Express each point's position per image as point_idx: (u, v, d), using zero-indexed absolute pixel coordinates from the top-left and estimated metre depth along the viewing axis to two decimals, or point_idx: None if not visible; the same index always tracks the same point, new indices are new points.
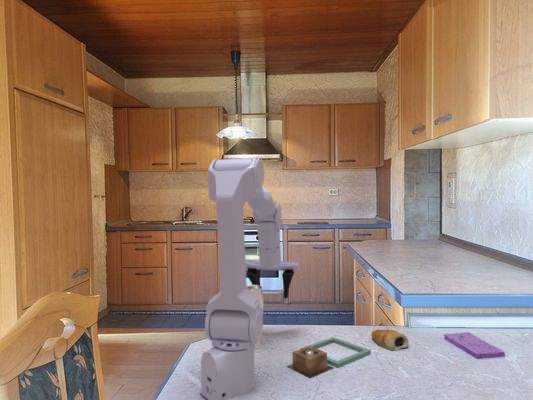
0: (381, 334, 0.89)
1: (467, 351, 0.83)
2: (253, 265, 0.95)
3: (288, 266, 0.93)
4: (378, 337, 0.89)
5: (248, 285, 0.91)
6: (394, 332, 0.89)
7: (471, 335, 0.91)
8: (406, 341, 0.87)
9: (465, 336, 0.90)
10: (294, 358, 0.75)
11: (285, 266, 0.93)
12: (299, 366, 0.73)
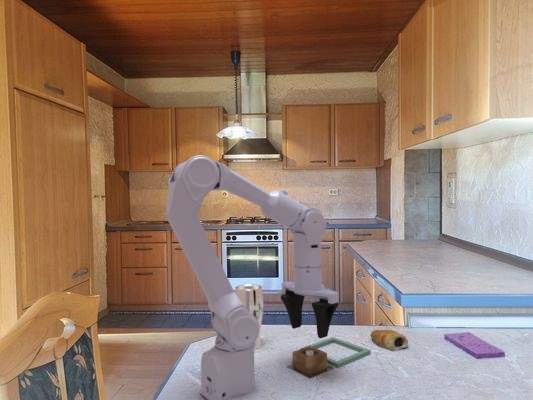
0: (380, 334, 0.88)
1: (467, 351, 0.83)
2: (288, 286, 0.77)
3: (321, 294, 0.70)
4: (377, 337, 0.89)
5: (248, 285, 0.91)
6: (393, 332, 0.88)
7: (471, 335, 0.91)
8: (405, 341, 0.87)
9: (465, 336, 0.90)
10: (294, 358, 0.75)
11: (318, 293, 0.71)
12: (299, 366, 0.73)
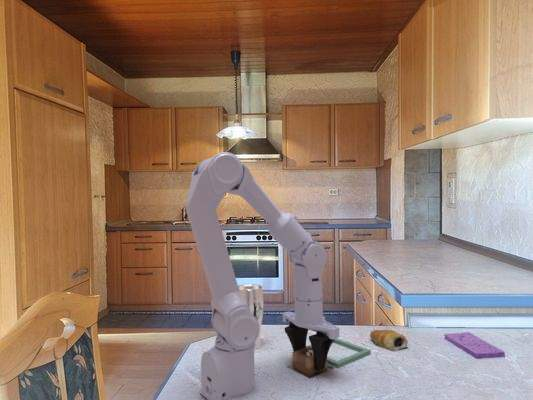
0: (380, 334, 0.88)
1: (467, 351, 0.83)
2: (289, 318, 0.77)
3: (322, 329, 0.70)
4: (377, 337, 0.88)
5: (248, 285, 0.91)
6: (393, 332, 0.88)
7: (472, 335, 0.91)
8: (405, 341, 0.87)
9: (465, 336, 0.90)
10: (294, 358, 0.75)
11: (319, 328, 0.70)
12: (299, 366, 0.73)
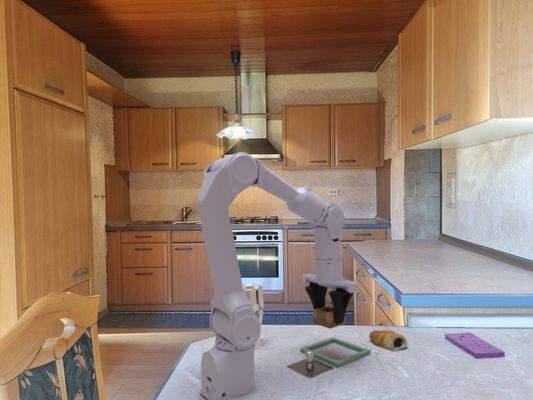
0: (379, 335, 0.88)
1: (467, 351, 0.83)
2: (309, 278, 0.83)
3: (342, 284, 0.76)
4: (376, 338, 0.88)
5: (248, 285, 0.91)
6: (392, 333, 0.88)
7: (472, 335, 0.91)
8: (405, 342, 0.87)
9: (466, 336, 0.90)
10: (314, 315, 0.80)
11: (338, 283, 0.76)
12: (319, 322, 0.79)
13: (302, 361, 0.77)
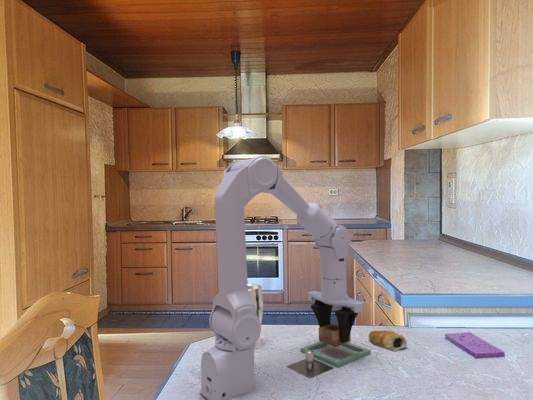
0: (379, 335, 0.88)
1: (467, 351, 0.83)
2: (315, 296, 0.84)
3: (348, 304, 0.77)
4: (376, 338, 0.88)
5: None
6: (392, 333, 0.88)
7: (472, 335, 0.91)
8: (404, 342, 0.86)
9: (466, 336, 0.90)
10: (320, 333, 0.82)
11: (344, 303, 0.78)
12: (325, 340, 0.81)
13: (302, 361, 0.77)
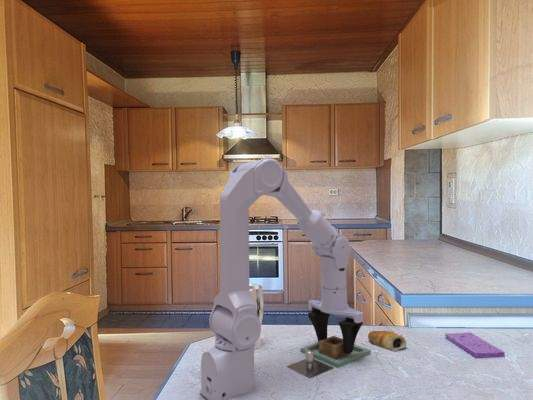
0: (379, 335, 0.88)
1: (466, 350, 0.83)
2: (315, 305, 0.84)
3: (348, 314, 0.77)
4: (376, 338, 0.88)
5: None
6: (391, 333, 0.88)
7: (473, 335, 0.91)
8: (404, 342, 0.86)
9: (466, 336, 0.90)
10: (320, 346, 0.82)
11: (344, 313, 0.77)
12: (325, 354, 0.80)
13: (302, 361, 0.77)
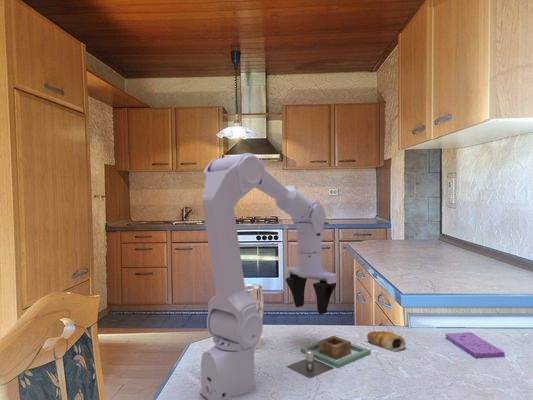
0: (378, 336, 0.87)
1: (466, 350, 0.83)
2: (292, 270, 0.88)
3: (321, 275, 0.81)
4: (375, 339, 0.87)
5: (248, 285, 0.91)
6: (391, 334, 0.88)
7: (473, 335, 0.91)
8: (403, 342, 0.86)
9: (467, 336, 0.91)
10: (320, 346, 0.82)
11: (318, 275, 0.81)
12: (325, 354, 0.80)
13: (302, 361, 0.77)
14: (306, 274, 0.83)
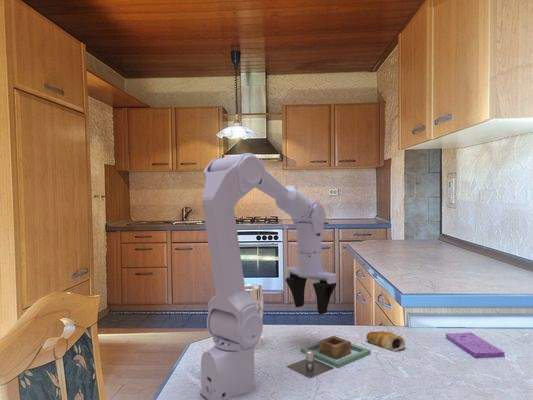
0: (377, 336, 0.87)
1: (466, 350, 0.84)
2: (292, 270, 0.88)
3: (321, 275, 0.81)
4: (374, 339, 0.87)
5: (248, 285, 0.91)
6: (390, 334, 0.87)
7: (473, 335, 0.91)
8: (403, 342, 0.86)
9: (467, 336, 0.91)
10: (320, 346, 0.82)
11: (318, 275, 0.81)
12: (325, 354, 0.80)
13: (302, 361, 0.77)
14: (306, 274, 0.83)
